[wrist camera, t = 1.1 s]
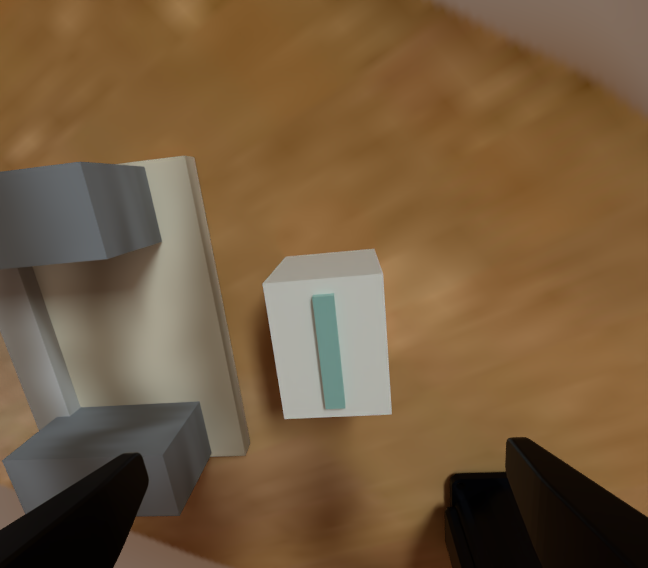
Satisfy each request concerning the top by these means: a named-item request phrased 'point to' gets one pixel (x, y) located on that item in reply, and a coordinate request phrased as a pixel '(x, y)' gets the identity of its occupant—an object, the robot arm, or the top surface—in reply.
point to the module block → (329, 334)
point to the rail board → (116, 327)
